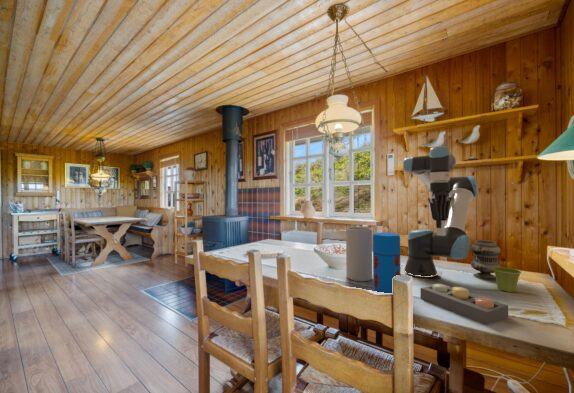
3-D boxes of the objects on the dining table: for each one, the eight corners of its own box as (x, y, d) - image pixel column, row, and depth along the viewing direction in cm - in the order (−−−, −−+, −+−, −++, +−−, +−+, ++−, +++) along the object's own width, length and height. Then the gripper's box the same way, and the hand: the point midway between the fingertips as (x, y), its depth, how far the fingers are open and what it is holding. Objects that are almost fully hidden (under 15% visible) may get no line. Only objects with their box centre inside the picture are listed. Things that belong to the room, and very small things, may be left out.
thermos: (368, 290, 113) (367, 233, 113) (387, 286, 117) (386, 231, 117) (386, 299, 103) (385, 236, 103) (406, 295, 107) (405, 235, 107)
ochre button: (449, 298, 97) (449, 288, 97) (457, 296, 99) (457, 286, 99) (463, 303, 92) (463, 292, 92) (471, 301, 94) (471, 290, 94)
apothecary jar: (480, 280, 124) (479, 243, 124) (465, 273, 136) (465, 239, 136) (507, 281, 122) (507, 243, 122) (490, 273, 134) (490, 239, 134)
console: (420, 297, 104) (420, 288, 104) (440, 293, 109) (440, 283, 109) (487, 324, 82) (487, 312, 82) (508, 317, 87) (508, 305, 87)
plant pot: (527, 294, 106) (526, 273, 106) (500, 293, 108) (500, 272, 108) (512, 286, 115) (512, 267, 115) (488, 285, 117) (488, 266, 117)
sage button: (429, 294, 104) (429, 284, 104) (438, 292, 106) (438, 283, 106) (441, 299, 99) (441, 288, 99) (450, 297, 101) (450, 286, 101)
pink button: (472, 310, 89) (472, 299, 89) (480, 307, 91) (480, 296, 91) (488, 316, 85) (488, 304, 85) (497, 313, 87) (497, 301, 87)
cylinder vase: (361, 273, 138) (361, 226, 138) (377, 280, 126) (377, 229, 126) (341, 275, 134) (341, 227, 134) (356, 283, 122) (355, 230, 122)
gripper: (438, 181, 108) (439, 237, 108) (457, 181, 113) (458, 234, 114) (422, 182, 115) (423, 235, 115) (441, 182, 120) (441, 232, 121)
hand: (440, 235), depth 115 cm, fingers closed
